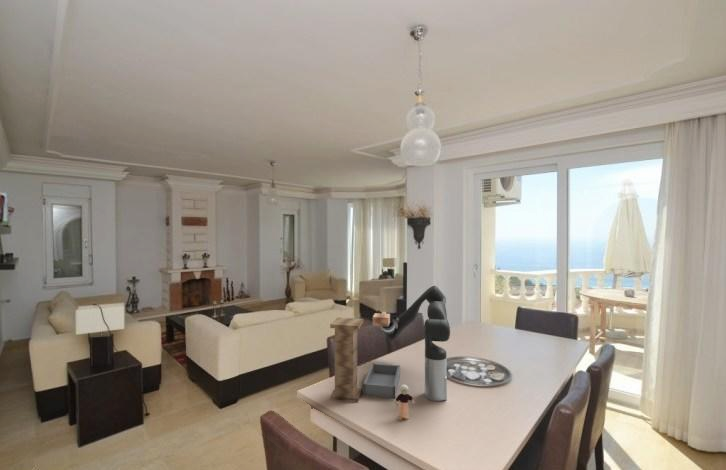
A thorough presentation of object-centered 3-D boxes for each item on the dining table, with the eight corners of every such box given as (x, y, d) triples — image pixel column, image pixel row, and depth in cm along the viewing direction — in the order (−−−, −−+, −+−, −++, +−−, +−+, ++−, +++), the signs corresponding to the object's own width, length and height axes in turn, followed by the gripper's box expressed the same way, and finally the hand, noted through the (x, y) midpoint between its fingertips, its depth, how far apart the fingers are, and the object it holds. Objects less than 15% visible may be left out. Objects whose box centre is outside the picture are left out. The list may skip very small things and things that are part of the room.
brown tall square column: (363, 389, 152) (363, 318, 152) (357, 402, 140) (357, 325, 140) (337, 387, 154) (337, 317, 154) (330, 399, 143) (330, 324, 143)
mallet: (392, 317, 165) (392, 309, 165) (388, 326, 149) (388, 317, 149) (378, 316, 166) (378, 308, 166) (372, 325, 150) (372, 316, 150)
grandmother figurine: (396, 422, 126) (396, 388, 126) (393, 416, 129) (393, 383, 129) (415, 419, 128) (415, 385, 128) (411, 413, 131) (411, 381, 131)
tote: (399, 375, 167) (399, 365, 167) (395, 398, 144) (395, 386, 144) (372, 373, 170) (372, 363, 170) (363, 395, 146) (363, 383, 146)
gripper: (400, 331, 172) (397, 322, 157) (373, 329, 175) (368, 320, 160) (401, 316, 175) (398, 306, 161) (374, 315, 178) (369, 305, 163)
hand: (383, 313), depth 160 cm, fingers closed on mallet, 2 cm apart
